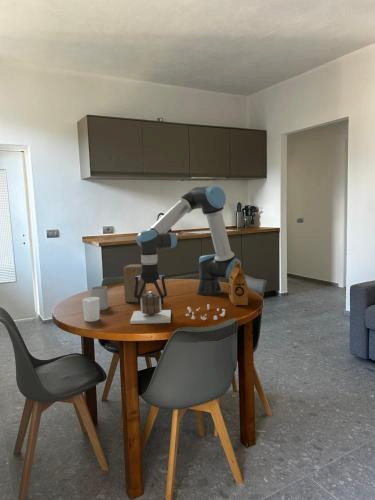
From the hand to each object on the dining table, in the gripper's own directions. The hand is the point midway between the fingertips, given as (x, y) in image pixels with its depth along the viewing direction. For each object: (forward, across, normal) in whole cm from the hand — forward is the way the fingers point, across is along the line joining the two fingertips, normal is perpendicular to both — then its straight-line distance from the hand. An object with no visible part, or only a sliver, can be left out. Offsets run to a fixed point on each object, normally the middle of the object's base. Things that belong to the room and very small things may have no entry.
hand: (151, 311), depth 175 cm
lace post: (+2, 0, 0) cm, 2 cm away
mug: (+3, -28, +23) cm, 36 cm away
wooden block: (+3, -11, +36) cm, 38 cm away
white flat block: (+3, 0, 0) cm, 3 cm away
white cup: (+3, -28, +1) cm, 28 cm away
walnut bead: (0, 0, 0) cm, 0 cm away
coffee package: (+3, +45, +22) cm, 50 cm away
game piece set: (+4, +26, +3) cm, 26 cm away
